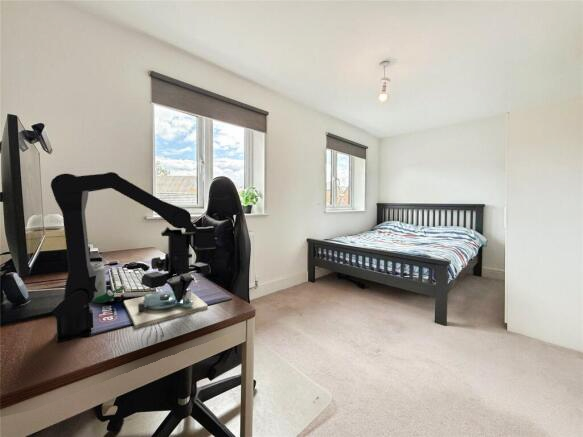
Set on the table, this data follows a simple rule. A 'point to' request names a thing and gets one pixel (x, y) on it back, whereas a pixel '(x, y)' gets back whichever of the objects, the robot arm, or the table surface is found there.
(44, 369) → the table surface
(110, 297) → the green irregular piece
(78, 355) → the table surface
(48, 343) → the table surface
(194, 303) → the post base
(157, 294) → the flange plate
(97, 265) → the can
